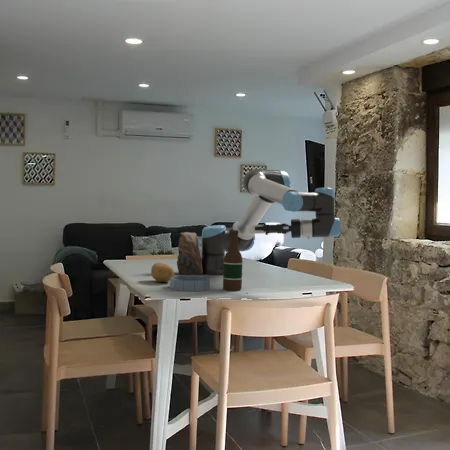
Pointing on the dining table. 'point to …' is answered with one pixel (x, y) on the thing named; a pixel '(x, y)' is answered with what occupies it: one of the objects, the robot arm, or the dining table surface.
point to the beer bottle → (233, 265)
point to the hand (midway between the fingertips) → (247, 229)
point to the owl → (189, 255)
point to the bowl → (190, 283)
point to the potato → (162, 272)
